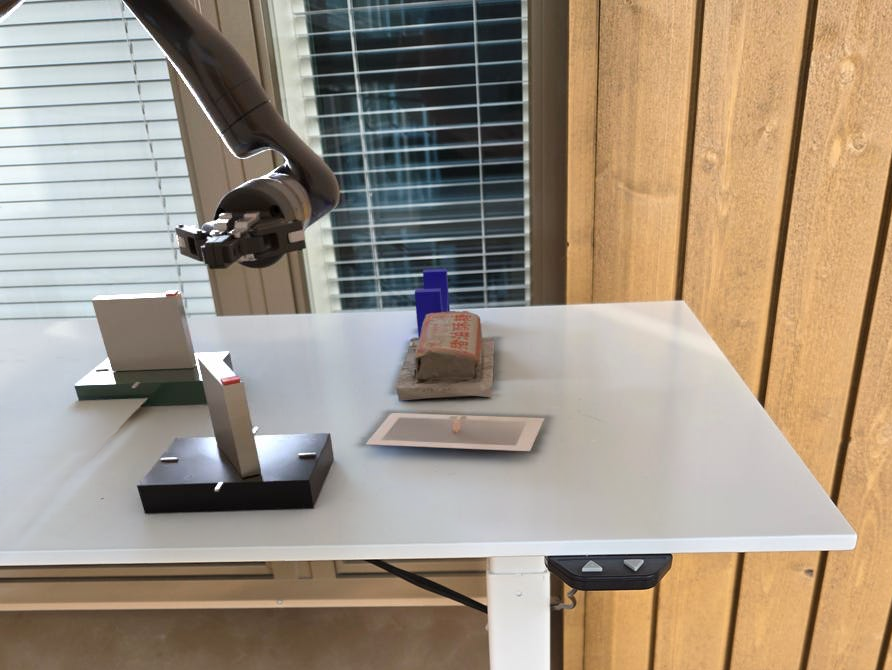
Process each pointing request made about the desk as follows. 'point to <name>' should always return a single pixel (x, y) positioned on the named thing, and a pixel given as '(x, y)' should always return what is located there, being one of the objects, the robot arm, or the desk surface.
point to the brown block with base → (448, 359)
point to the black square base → (238, 475)
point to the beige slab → (145, 331)
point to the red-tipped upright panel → (229, 414)
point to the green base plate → (147, 384)
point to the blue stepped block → (432, 295)
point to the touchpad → (458, 431)
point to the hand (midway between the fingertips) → (215, 256)
